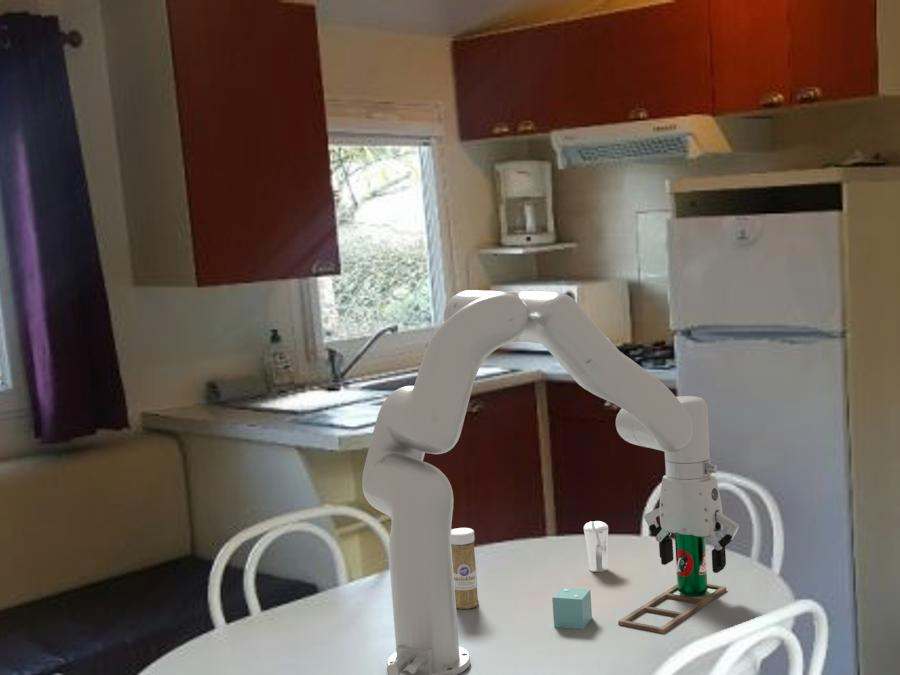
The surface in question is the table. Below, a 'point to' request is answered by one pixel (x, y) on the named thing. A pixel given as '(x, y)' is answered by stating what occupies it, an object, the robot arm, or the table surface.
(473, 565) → the sprinkles bottle
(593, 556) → the milkshake
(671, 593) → the wooden frame
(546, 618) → the table surface
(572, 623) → the die
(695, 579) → the soda can
